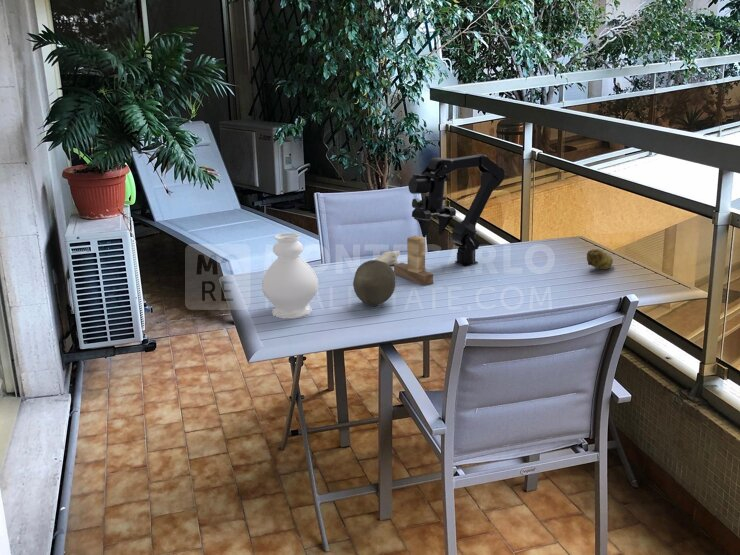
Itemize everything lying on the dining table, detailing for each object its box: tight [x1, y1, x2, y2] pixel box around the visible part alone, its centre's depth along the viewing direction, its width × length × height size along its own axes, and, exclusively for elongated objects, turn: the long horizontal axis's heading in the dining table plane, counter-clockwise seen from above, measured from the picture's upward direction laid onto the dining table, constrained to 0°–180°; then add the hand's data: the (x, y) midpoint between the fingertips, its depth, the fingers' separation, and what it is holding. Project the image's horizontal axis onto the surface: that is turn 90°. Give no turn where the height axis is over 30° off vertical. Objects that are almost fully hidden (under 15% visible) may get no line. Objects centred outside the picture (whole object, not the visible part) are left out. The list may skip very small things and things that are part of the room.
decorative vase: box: [261, 232, 320, 320], centre depth 232 cm, size 18×18×25 cm
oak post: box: [406, 235, 426, 273], centre depth 261 cm, size 4×4×12 cm
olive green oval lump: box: [586, 248, 614, 270], centre depth 269 cm, size 8×13×8 cm, turn 116°
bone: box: [374, 249, 400, 266], centre depth 277 cm, size 8×21×6 cm, turn 143°
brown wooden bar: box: [393, 262, 434, 286], centre depth 265 cm, size 4×18×4 cm, turn 34°
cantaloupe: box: [352, 259, 397, 307], centre depth 237 cm, size 14×14×15 cm
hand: (432, 235), depth 270 cm, fingers open, 9 cm apart
